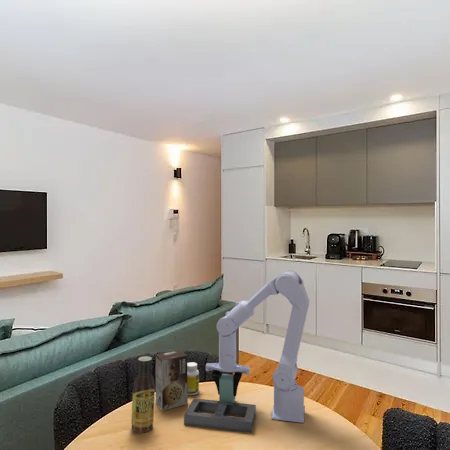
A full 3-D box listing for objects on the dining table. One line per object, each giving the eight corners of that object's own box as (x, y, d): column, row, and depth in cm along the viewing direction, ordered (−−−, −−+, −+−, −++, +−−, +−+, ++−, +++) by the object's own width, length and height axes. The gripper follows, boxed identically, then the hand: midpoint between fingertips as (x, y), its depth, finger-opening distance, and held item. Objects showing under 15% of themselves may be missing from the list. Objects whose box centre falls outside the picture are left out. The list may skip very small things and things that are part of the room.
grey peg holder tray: (255, 414, 107) (255, 404, 107) (251, 433, 97) (251, 422, 97) (193, 407, 111) (193, 398, 111) (183, 424, 101) (183, 414, 101)
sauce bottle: (134, 436, 95) (134, 364, 96) (129, 425, 101) (129, 357, 101) (157, 430, 98) (157, 360, 99) (151, 419, 104) (151, 353, 104)
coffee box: (180, 396, 119) (180, 348, 119) (188, 404, 113) (188, 354, 114) (154, 402, 114) (155, 353, 114) (161, 411, 109) (162, 360, 109)
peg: (235, 398, 116) (235, 374, 116) (232, 405, 111) (232, 380, 111) (222, 397, 117) (222, 373, 117) (219, 404, 112) (219, 379, 112)
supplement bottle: (198, 395, 119) (198, 367, 119) (182, 395, 119) (182, 367, 119) (199, 388, 124) (199, 361, 125) (184, 388, 125) (184, 361, 125)
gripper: (250, 350, 117) (250, 390, 116) (209, 347, 120) (209, 386, 119) (248, 357, 110) (248, 400, 110) (203, 354, 113) (203, 396, 113)
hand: (227, 394), depth 114 cm, fingers closed on peg, 4 cm apart
